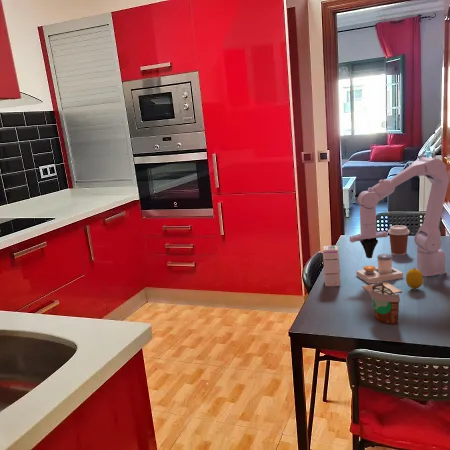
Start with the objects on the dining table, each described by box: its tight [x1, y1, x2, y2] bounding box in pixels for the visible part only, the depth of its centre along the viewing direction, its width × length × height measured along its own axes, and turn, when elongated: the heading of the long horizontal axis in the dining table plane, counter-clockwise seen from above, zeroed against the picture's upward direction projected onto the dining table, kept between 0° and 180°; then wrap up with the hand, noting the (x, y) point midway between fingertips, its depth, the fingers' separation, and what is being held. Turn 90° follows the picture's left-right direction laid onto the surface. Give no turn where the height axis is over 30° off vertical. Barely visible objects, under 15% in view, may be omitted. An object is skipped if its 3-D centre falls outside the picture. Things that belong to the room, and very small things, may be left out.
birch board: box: [361, 281, 403, 295], centre depth 161 cm, size 10×10×1 cm
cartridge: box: [376, 253, 393, 275], centre depth 173 cm, size 5×5×8 cm
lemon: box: [405, 267, 424, 291], centre depth 157 cm, size 6×6×8 cm
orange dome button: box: [363, 265, 376, 275], centre depth 172 cm, size 4×4×3 cm
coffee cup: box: [387, 224, 411, 256], centre depth 197 cm, size 9×9×12 cm
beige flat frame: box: [355, 266, 404, 285], centre depth 173 cm, size 14×10×2 cm
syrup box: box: [322, 244, 341, 287], centre depth 170 cm, size 6×6×14 cm
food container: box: [369, 281, 401, 326], centre depth 138 cm, size 12×6×10 cm, turn 5°
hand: (369, 257), depth 171 cm, fingers closed
